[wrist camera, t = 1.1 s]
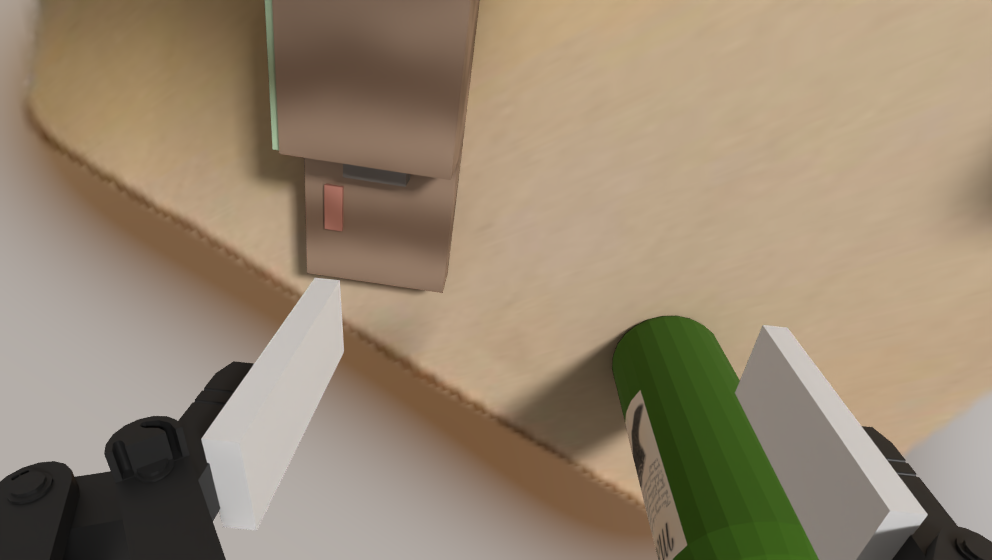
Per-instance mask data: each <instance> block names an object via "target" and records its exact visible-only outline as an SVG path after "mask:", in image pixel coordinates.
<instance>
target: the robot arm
mask: <svg viewBox="0 0 992 560" xmlns="http://www.w3.org/2000/svg"><path fill="white" fill-rule="evenodd" d="M343 353H344V344H343V326H342V309H341V292H340V280H332V279H323V278H314V280H313V281H312V283H311V284H310V286H309V287H308V288H307V290H306V291H305V293H304V294H303V295H302V297H301V298H300V300H299V301H298V303H297V304H296V305H295V307H294V308H293V310H292V311H291V312H290V314H289V315H288V317H287V318H286V320H285V321H284V322H283V324H282V325H281V327H280V328H279V330H278V331H277V332H276V334H275V335H274V337H273V338H272V339H271V341H270V342H269V344H268V345H267V346H266V348H265V349H264V351H263V352H262V354H261V355H260V357H259V358H258V359H257V361H256V362H255V363H254V364H253V363H242V362H232V363H231V364H229V365H228V366H226V367H225V368H223V369H222V370H220V371H219V372H217V373H216V374H215V375H214V376H213V378H212V379H211V380H210V381H209V383H208V384H207V385H206V387H205V388H204V391H201V393H200V394H199V395H198V396H197V398H196V399H195V402H194V403H192V404H191V405H190V407H189V408H188V409H187V411H186V412H185V413H184V414H183V416H182V417H181V418H180V419H179V421H177V420H175V419H172V418H170V417H167V416H152V417H147V418H143V419H139V420H136V421H135V422H132V423H130V424H128V425H125V426H124V427H123V428H121V429H120V430H118V431H117V432H116V433H115V434H113V435H112V437H111V438H110V439H109V441H108V442H107V444H106V447H105V457H106V459H107V462H108V465H109V467H110V470H111V471H110V472H104V473H98V474H91V475H84V476H77V477H74V475H73V472H72V470H71V469H70V468H69V467H68V466H67V465H66V464H63V463H59V462H55V461H52V462H42V463H37V464H34V465H30V466H27V467H24V468H21V469H20V470H18V471H16V472H14V473H12V474H10V475H8V476H7V477H5V478H4V479H3V480H2V481H1V482H0V560H226V559H225V556H224V553H223V551H222V548H221V544H220V542H219V539H218V536H217V533H216V530H215V527H214V524H213V520H214V519H215V517H216V515H217V513H218V512H219V513H220V516H221V521H222V525H223V527H229V528H239V529H248V530H257V529H258V527H259V525H260V523H261V521H262V519H263V517H264V515H265V513H266V510H267V509H268V506H269V504H270V502H271V500H272V498H273V496H274V494H275V492H276V490H277V488H278V486H279V484H280V482H281V480H282V478H283V476H284V474H285V472H286V470H287V468H288V466H289V463H290V461H291V459H292V457H293V455H294V453H295V451H296V449H297V447H298V445H299V443H300V441H301V439H302V437H303V435H304V433H305V431H306V429H307V427H308V424H309V423H310V420H311V418H312V416H313V414H314V412H315V410H316V408H317V406H318V404H319V402H320V400H321V398H322V396H323V394H324V392H325V390H326V388H327V386H328V384H329V382H330V379H331V377H332V375H333V373H334V371H335V369H336V367H337V365H338V363H339V361H340V359H341V357H342V355H343ZM735 394H736V396H737V398H738V400H739V402H740V404H741V406H742V408H743V410H744V412H745V414H746V416H747V418H748V420H749V422H750V424H751V426H752V428H753V430H754V432H755V434H756V436H757V438H758V440H759V442H760V444H761V446H762V448H763V450H764V452H765V454H766V456H767V458H768V460H769V461H770V463H771V465H772V467H773V469H774V471H775V473H776V475H777V477H778V479H779V481H780V483H781V485H782V487H783V489H784V491H785V493H786V495H787V497H788V499H789V501H790V503H791V505H792V507H793V509H794V511H795V513H796V515H797V517H798V519H799V521H800V523H801V525H802V527H803V529H804V531H805V533H806V535H807V537H808V539H809V541H810V543H811V545H812V547H813V549H814V551H815V553H816V555H817V557H818V559H819V560H992V542H991V541H989V540H988V539H986V538H985V537H983V536H981V535H980V534H978V533H975V532H973V531H971V530H969V529H966V528H962V527H958V526H957V525H956V523H955V522H954V521H953V520H952V518H951V517H950V516H949V515H948V513H947V512H946V511H945V510H944V508H943V507H942V506H941V504H940V503H939V502H938V501H937V500H936V498H935V497H934V496H933V494H932V493H931V492H930V490H929V489H928V488H927V487H926V486H925V484H924V483H923V482H922V480H921V479H920V478H919V477H916V473H915V471H914V470H913V469H912V468H911V466H910V465H909V464H908V463H905V459H904V458H903V456H902V455H901V454H900V452H899V451H898V450H897V449H896V447H895V446H894V445H893V444H892V443H891V442H890V441H889V440H888V439H886V438H885V437H884V436H883V435H881V434H880V433H879V432H878V431H876V430H875V429H874V428H873V427H864V426H861V425H860V424H859V422H858V421H857V420H856V418H855V417H854V416H853V414H852V413H851V412H850V410H849V409H848V408H847V406H846V405H845V404H844V402H843V401H842V400H841V398H840V397H839V396H838V394H837V393H836V392H835V390H834V389H833V388H832V386H831V385H830V384H829V382H828V381H827V380H826V378H825V377H824V376H823V374H822V373H821V372H820V370H819V369H818V368H817V366H816V365H815V364H814V362H813V361H812V360H811V358H810V357H809V356H808V354H807V353H806V352H805V350H804V349H803V348H802V346H801V345H800V344H799V342H798V341H797V340H796V338H795V337H794V336H793V334H792V333H791V332H790V330H789V329H788V328H787V327H777V326H768V325H763V326H762V328H761V331H760V333H759V335H758V338H757V340H756V343H755V345H754V348H753V350H752V353H751V355H750V357H749V360H748V362H747V365H746V367H745V370H744V372H743V374H742V377H741V379H740V382H739V384H738V387H737V389H736V392H735Z"/></svg>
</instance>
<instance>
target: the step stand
mask: <svg viewBox="0 0 992 560" xmlns="http://www.w3.org/2000/svg"><path fill="white" fill-rule="evenodd" d="M479 1H480V0H265V15H266V34H267V53H268V72H269V91H270V110H271V129H272V148H273V150H279V154H284V155H290V156H297V157H303V158H304V167H305V208H306V248H307V273H310V274H317V275H324V276H331V277H337V278H344V279H351V280H358V281H365V282H372V283H378V284H385V285H392V286H399V287H406V288H412V289H419V290H426V291H433V292H440V293H443V289H444V285H445V281H446V278H447V273H448V265H449V256H450V248H451V239H452V231H453V222H454V214H455V205H456V197H457V188H458V180H459V171H460V163H461V154H462V146H463V137H464V129H465V120H466V112H467V103H468V95H469V86H470V78H471V69H472V60H473V52H474V43H475V35H476V26H477V18H478V9H479Z"/></svg>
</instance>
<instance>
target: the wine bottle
mask: <svg viewBox="0 0 992 560" xmlns="http://www.w3.org/2000/svg"><path fill="white" fill-rule="evenodd" d="M612 370H613V375H614V379H615V383H616V387H617V391H618V395H619V399H620V403H621V407H622V411H623V415H624V419H625V425H626V429H627V434H628V438H629V442H630V446H631V450H632V454H633V458H634V462H635V466H636V470H637V475H638V479H639V483H640V487H641V491H642V495H643V499H644V503H645V507H646V511H647V515H648V520H649V524H650V528H651V532H652V536H653V540H654V544H655V548H656V552H657V556H658V560H819V559H818V557H817V555H816V553H815V551H814V549H813V547H812V545H811V543H810V541H809V539H808V537H807V535H806V533H805V531H804V529H803V527H802V525H801V523H800V521H799V519H798V517H797V515H796V513H795V511H794V509H793V507H792V505H791V503H790V501H789V499H788V497H787V495H786V493H785V491H784V489H783V487H782V485H781V483H780V481H779V479H778V477H777V475H776V473H775V471H774V469H773V467H772V465H771V463H770V461H769V460H768V458H767V456H766V454H765V452H764V450H763V448H762V446H761V444H760V442H759V440H758V438H757V436H756V434H755V432H754V430H753V428H752V426H751V424H750V422H749V420H748V418H747V416H746V414H745V412H744V410H743V408H742V406H741V404H740V402H739V400H738V398H737V396H736V394H735V392H736V389H737V387H738V384H739V382H740V380H739V378H738V377H737V375H736V373H735V371H734V370H733V368H732V366H731V364H730V363H729V361H728V359H727V357H726V355H725V354H724V352H723V350H722V348H721V347H720V345H719V343H718V341H717V340H716V338H715V336H714V334H713V333H712V332H711V331H709V330H708V329H707V328H706V327H705V326H704V325H702V324H700V323H698V322H696V321H694V320H692V319H690V318H685V317H680V316H660V317H656V318H652V319H648V320H646V321H644V322H642V323H640V324H638V325H636V326H635V327H633V328H632V329H631V330H630V331H628V332H627V333H626V334H625V335H624V336H623V338H622V339H621V340H620V342H619V343H618V345H617V347H616V350H615V353H614V355H613V363H612Z"/></svg>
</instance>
